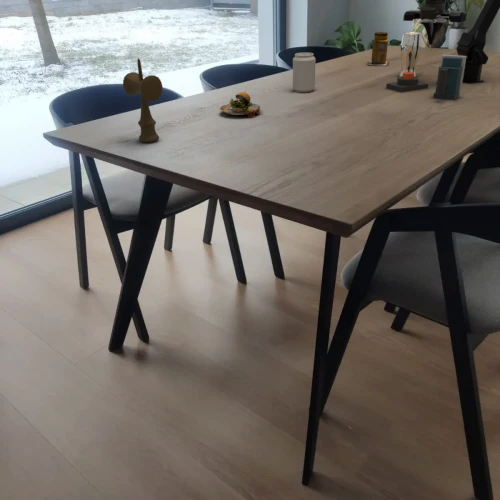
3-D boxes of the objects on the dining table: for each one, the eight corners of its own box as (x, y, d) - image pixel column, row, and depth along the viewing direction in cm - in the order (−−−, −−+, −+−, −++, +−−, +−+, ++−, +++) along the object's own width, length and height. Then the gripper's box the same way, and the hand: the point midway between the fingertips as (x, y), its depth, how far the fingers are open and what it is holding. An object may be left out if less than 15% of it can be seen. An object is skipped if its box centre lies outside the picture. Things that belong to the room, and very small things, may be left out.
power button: (408, 77, 174) (409, 71, 173) (415, 79, 172) (416, 73, 171) (399, 78, 173) (400, 72, 172) (407, 80, 170) (407, 74, 169)
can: (288, 90, 178) (288, 53, 172) (307, 87, 181) (307, 50, 175) (300, 94, 172) (300, 56, 166) (319, 91, 175) (320, 53, 169)
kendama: (149, 147, 127) (138, 62, 118) (129, 139, 134) (117, 58, 124) (169, 141, 131) (160, 58, 121) (148, 134, 137) (138, 54, 127)
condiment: (387, 62, 218) (390, 31, 212) (386, 65, 211) (389, 34, 205) (369, 62, 220) (372, 31, 214) (368, 65, 213) (370, 34, 207)
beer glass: (415, 74, 193) (420, 31, 186) (419, 78, 187) (424, 34, 180) (396, 75, 194) (401, 32, 186) (399, 79, 188) (404, 34, 180)
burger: (215, 111, 156) (213, 85, 152) (251, 106, 160) (250, 81, 156) (228, 120, 146) (226, 94, 143) (266, 115, 150) (266, 89, 146)
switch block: (411, 84, 179) (412, 74, 177) (427, 88, 173) (429, 77, 171) (385, 88, 175) (386, 77, 173) (401, 92, 169) (402, 81, 167)
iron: (442, 54, 159) (431, 60, 151) (466, 56, 155) (456, 61, 147) (437, 94, 164) (426, 101, 157) (460, 96, 161) (449, 104, 153)
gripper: (399, -7, 163) (394, 46, 171) (460, -7, 153) (452, 49, 161) (412, -9, 171) (406, 42, 178) (470, -9, 161) (462, 44, 169)
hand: (430, 44), depth 171 cm, fingers closed
